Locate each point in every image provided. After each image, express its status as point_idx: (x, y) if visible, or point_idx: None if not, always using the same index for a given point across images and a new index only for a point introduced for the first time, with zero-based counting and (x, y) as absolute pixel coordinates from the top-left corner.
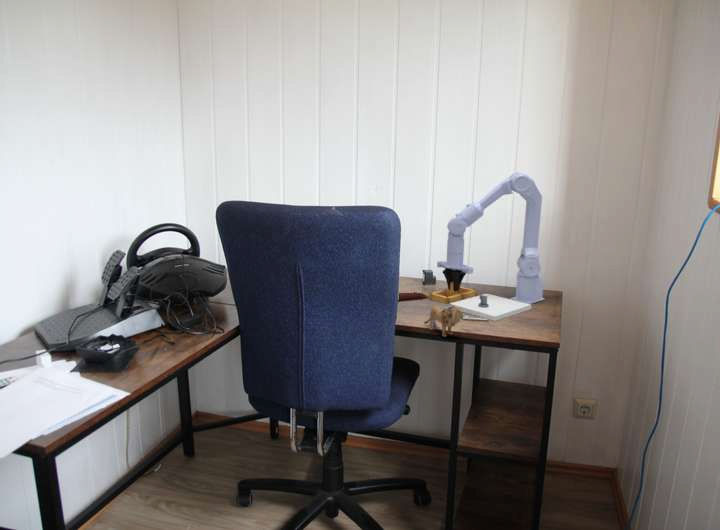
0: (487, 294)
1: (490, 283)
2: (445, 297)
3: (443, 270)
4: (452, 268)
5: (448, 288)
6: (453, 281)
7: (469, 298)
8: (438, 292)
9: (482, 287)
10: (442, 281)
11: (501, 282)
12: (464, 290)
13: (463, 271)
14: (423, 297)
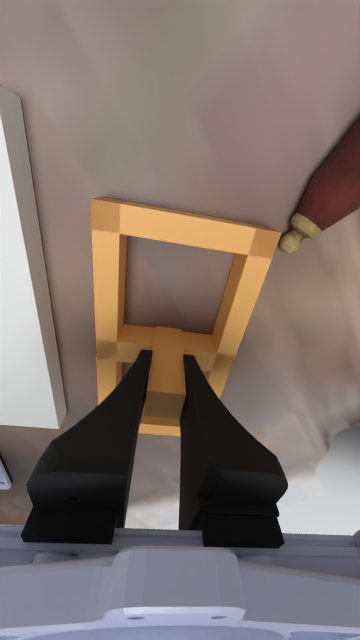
0: (43, 421)
1: (169, 508)
2: (124, 212)
3: (279, 487)
4: (100, 559)
5: (193, 358)
6: (139, 393)
7: (34, 324)
8: (234, 297)
9: (163, 479)
10: (309, 467)
11: (152, 521)
12: (160, 417)
13: (3, 536)
14: (306, 192)
